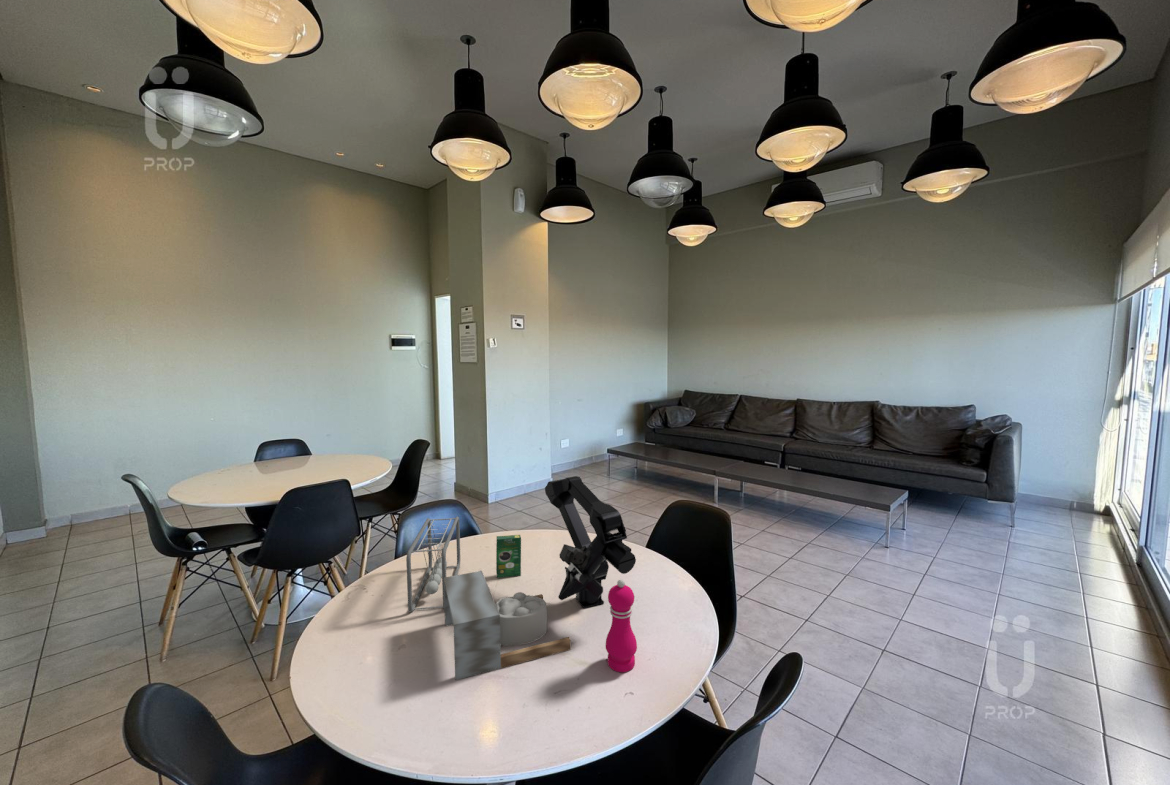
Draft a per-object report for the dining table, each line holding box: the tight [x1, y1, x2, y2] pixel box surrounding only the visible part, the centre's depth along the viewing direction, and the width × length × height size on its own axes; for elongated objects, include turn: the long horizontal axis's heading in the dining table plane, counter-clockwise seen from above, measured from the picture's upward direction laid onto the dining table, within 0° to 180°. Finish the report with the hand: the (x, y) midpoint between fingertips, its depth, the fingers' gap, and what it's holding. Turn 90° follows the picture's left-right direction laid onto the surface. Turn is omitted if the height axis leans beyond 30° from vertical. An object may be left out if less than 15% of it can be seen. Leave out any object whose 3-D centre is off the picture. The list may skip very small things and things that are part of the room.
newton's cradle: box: [406, 516, 461, 613], centre depth 141 cm, size 30×10×18 cm, turn 8°
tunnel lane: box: [444, 570, 572, 681], centre depth 116 cm, size 27×23×13 cm
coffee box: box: [495, 534, 522, 579], centre depth 148 cm, size 8×3×13 cm, turn 103°
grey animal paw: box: [495, 591, 548, 646], centre depth 118 cm, size 10×13×9 cm
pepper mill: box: [605, 578, 638, 673], centre depth 105 cm, size 7×7×20 cm
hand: (559, 598), depth 121 cm, fingers closed
